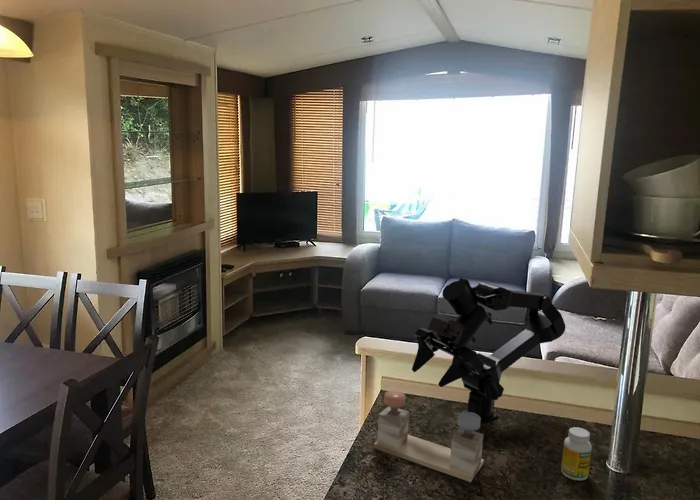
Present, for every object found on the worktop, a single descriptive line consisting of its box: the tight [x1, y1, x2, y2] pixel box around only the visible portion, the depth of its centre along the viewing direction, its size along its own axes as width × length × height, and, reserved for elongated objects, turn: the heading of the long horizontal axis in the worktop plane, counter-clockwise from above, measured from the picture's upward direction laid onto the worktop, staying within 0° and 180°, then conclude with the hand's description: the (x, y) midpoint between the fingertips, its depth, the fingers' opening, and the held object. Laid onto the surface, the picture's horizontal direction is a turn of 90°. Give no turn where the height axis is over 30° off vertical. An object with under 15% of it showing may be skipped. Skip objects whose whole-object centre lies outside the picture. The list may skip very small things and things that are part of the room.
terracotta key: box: [383, 390, 406, 411], centre depth 126 cm, size 5×5×3 cm
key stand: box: [372, 406, 485, 483], centre depth 123 cm, size 8×22×8 cm, turn 59°
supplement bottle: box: [560, 426, 593, 482], centre depth 117 cm, size 5×5×10 cm
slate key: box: [456, 411, 481, 434], centre depth 117 cm, size 5×5×3 cm
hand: (425, 378), depth 129 cm, fingers open, 9 cm apart
